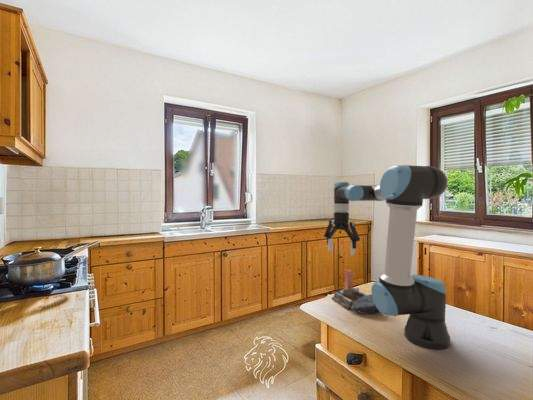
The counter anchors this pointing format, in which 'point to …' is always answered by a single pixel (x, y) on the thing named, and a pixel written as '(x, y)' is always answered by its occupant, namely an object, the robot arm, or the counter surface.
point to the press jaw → (349, 286)
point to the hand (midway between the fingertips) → (341, 252)
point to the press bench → (345, 299)
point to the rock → (365, 305)
